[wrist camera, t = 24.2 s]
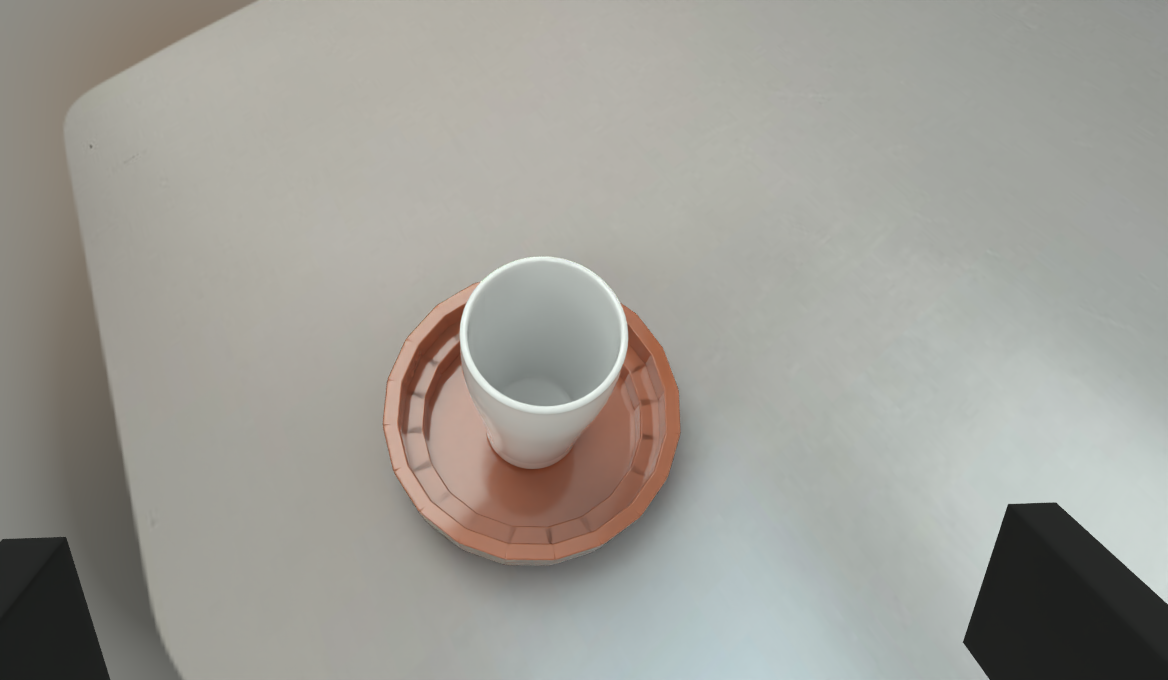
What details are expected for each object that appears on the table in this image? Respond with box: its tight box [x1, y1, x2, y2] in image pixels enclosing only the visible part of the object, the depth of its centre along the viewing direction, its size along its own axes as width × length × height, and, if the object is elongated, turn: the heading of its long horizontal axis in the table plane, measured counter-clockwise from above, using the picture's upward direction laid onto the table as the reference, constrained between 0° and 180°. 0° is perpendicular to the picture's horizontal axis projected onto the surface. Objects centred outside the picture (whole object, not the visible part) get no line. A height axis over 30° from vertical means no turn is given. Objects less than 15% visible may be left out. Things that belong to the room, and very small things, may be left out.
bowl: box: [383, 282, 680, 566], centre depth 42 cm, size 16×16×4 cm
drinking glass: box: [460, 256, 628, 469], centre depth 36 cm, size 7×7×15 cm
